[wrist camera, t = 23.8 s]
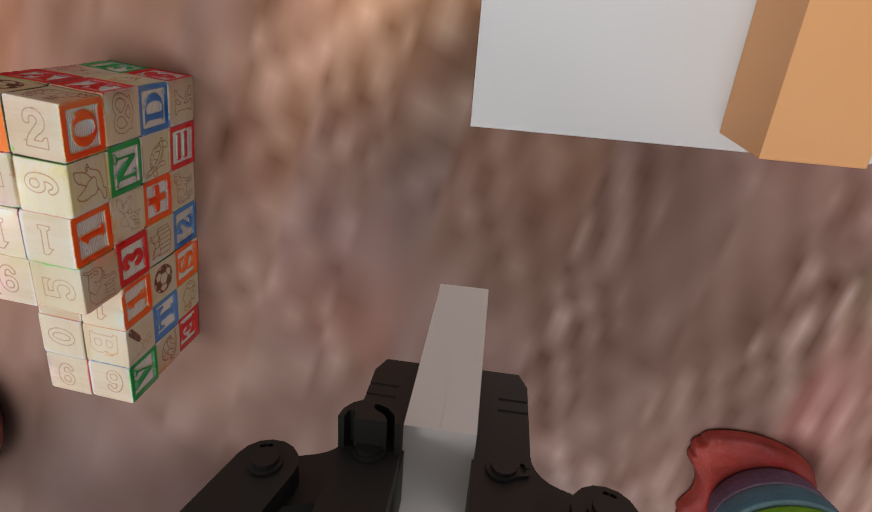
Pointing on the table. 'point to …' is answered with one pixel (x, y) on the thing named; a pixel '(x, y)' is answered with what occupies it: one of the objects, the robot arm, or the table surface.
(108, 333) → the stack of blocks
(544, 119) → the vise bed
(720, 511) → the stacking bear
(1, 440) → the pottery
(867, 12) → the block
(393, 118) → the table surface
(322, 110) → the table surface
